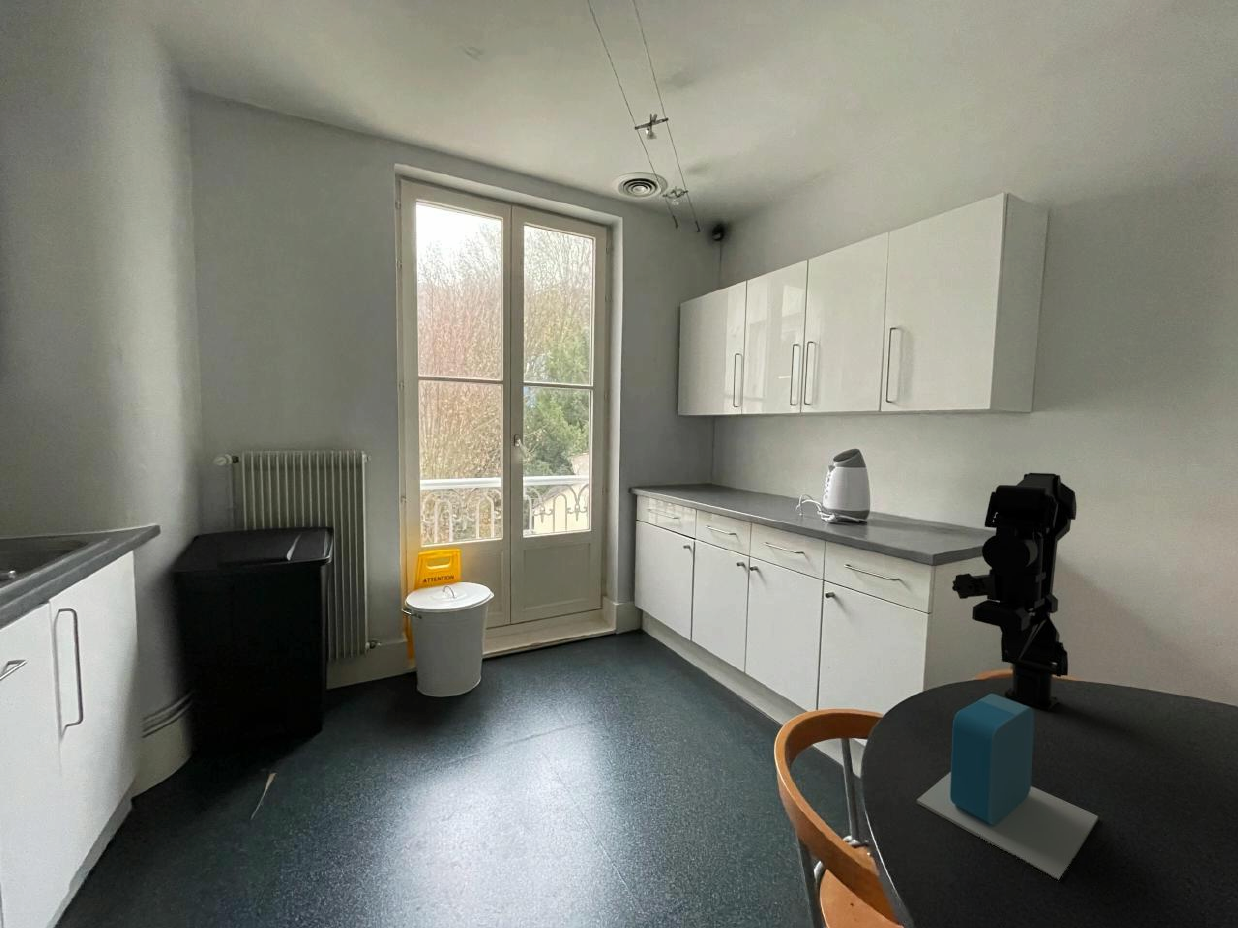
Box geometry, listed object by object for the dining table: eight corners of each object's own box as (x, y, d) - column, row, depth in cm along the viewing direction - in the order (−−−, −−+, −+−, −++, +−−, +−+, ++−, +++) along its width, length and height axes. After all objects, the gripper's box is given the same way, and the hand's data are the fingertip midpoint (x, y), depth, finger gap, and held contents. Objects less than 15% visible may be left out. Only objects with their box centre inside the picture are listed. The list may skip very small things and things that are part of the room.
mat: (967, 759, 72) (967, 757, 72) (1098, 819, 61) (1098, 816, 61) (916, 802, 63) (916, 799, 63) (1058, 881, 52) (1059, 878, 52)
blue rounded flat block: (991, 775, 68) (994, 690, 68) (1031, 794, 65) (1035, 704, 64) (948, 806, 62) (952, 713, 62) (990, 830, 58) (994, 730, 58)
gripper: (982, 549, 91) (978, 632, 92) (937, 560, 81) (933, 654, 81) (1060, 561, 82) (1056, 653, 83) (1022, 575, 71) (1017, 681, 72)
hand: (1014, 659), depth 80 cm, fingers closed
